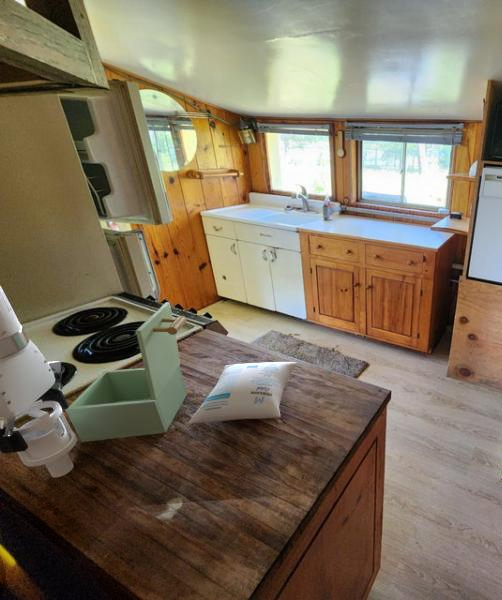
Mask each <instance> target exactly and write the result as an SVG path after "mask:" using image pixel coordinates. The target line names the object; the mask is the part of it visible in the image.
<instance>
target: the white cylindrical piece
mask: <svg viewBox="0 0 502 600" xmlns="http://www.w3.org/2000/svg"><path fill="white" fill-rule="evenodd" d="M47 407H52V408H53V410H54V411H52V412H51V413H49V411H44V410H42V409H46V408H47ZM26 414H27V415H28V416H29V417H32V418H35V419H32V420H30V421H28V422H26V423H24V424H23V425H22V426H20V427H18V428H17V427H15V426H14V430H13V431H19V432H20V434H21V435H22V437H23V438H24V440H25V442H26V443H27V445H28V448H27V449H26V450H25V451H22V452H16V454H17V455H18V457H19V458H20V461H21V462H22V464H23V465H24V466H26V467H39V466H43V465H44V466H45V467H46V469H47V471H48V472H49V474H50V477H52V478H55V479H56V478H61V477H63V476H65V475H67V474H68V473H70V472H71V471H72V470H73V469H74V462H73V461H72V460H71V458H70V456H69V454H68V453H69V452H70V451H71V450H72V449H73V448H74V447H75V446H76V444H77V442H78V437H77V436H76V433H75V432H74V431H73V429H72V428H71V425H70V424H69V422H68V419H67V418H66V416H65V414H64V411H63V410H62V408H61V406H60V404H59V403H58V402H56V401H43V402H42V401H38V402H34V403H33V404H31V405H30V406H29V407H28V408H27V409H26V410H24V411H23V412H22V413H21V414H19V415H18V416H16V418H15V421H16V420H17V419H19V418H21V417H22V416H25V415H26ZM3 423H4V420H1V423H0V429H3Z"/></svg>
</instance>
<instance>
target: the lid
mask: <svg viewBox="0 0 502 600" xmlns="http://www.w3.org/2000/svg"><path fill="white" fill-rule="evenodd" d="M187 320H188V319H187V317H186V316H184V315H179V316H177V317H173V311H172V307H171V302H170V301H165V302H164V303H163V304H162V305H161V307H159V308H158V309H157V310H156V311H155V312H154V313H153V314H152V315H151V316H150V317H148V319H146V321H144V322H143V323H142V324H141V325H140V326H139V327H138V328H137V329H136V330H135V333H136V337H137V342H138V346H139V350H140V355H141V359H142V364H143V368H145V373H146V377H147V381H148V386H149V390H150V395H151V399H152V400H156V399H157V398H158V396H159V395H160V393H161V392H162V390H163V389H164V387H165V386H166V384H167V383H168V381H169V380H170V378H171V377H172V376H173V374H174V373H175V371H176V370H177V368H178V367H180V365H181V363H182V362H181V357H180V352H179V347H178V341H177V336H176V334H178V332H179V331H180V330H181V329H182V328H183V326H184V325H185V324H186V322H187Z"/></svg>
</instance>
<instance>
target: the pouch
mask: <svg viewBox="0 0 502 600" xmlns="http://www.w3.org/2000/svg"><path fill="white" fill-rule="evenodd" d="M297 365H298V362H295V361H267V362H265V361H264V362H251V363H250V362H248V363H234V364H227V365H225V366H224V367H223V371H222V373H221V375H220V376H219V378H218V380H217V383H216V384H215V386H214V387H213V388H212V390H211V391H210V393H209V394H208V395H207V396H206V397H205V400H204V401H203V402H202V403H201V405H200V406H199V407H198V409H197V410H196V411H195V412H194V414H193V415H192V417H191V418H190V419H189V420H188V422H187V424H202V423H204V424H205V423H215V422H226V421H237V420H257V419H258V420H259V419H276V418H277V419H278V418H281V411H280V404H281V402H282V398H283V392H284V389H285V387H286V385H287V383H288V381H289V379H290V376H291V375H292V373H293V371H294V370H295V368H296V366H297Z"/></svg>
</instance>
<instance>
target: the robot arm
mask: <svg viewBox="0 0 502 600" xmlns="http://www.w3.org/2000/svg"><path fill="white" fill-rule="evenodd" d="M62 378H63V373H62V362H61V361H60V360H59V361H58V360H57V361H47V359H46V357H45V356H44V355H43V353H42V352H41V351H40V349H39V348H38V346H37V345H35V343H34V342H33V341H32V340H31V339H29V338H28V336H27V334H26V333H25V330H24V326H23V325H22V324H21V323H20V321H19V319H18V317H17V315H16V313H15V310H14V309H13V307H12V305H11V303H10V301H9V299H8V297H7V296H6V293H5V292H4V289H3V288H2V286H1V285H0V421H3V420H4V423H3V429H1V428H0V452H1V453H2V454H12V453H13V454H14V453H17V452H22V451H25V450H26V449H27V448H28V445H27V443H26V442H25V440H24V438H23V437H22V435H21V434H20V432H19V431H13V430H14V427H15V423H16V420H15V418H16V416H18V415H19V414H21V413H22V412H23V411H24V410H26V409H27V408H28V407H29V406H30V405H31V404H34V403H36V401H37V400H39V399H40V400H41V402H43V401H56V402H58V403H59V404H60V406H61V408H62V411H66V409H67V408H68V407H69V406H70V404H69V403H68V400H67V399H66V397H65V395H64V393H63V391H62V390H63V389H64V385H63V384H62V383H61V382H62ZM45 409H46V412H54V410H53V408H52V407H47V408H45Z"/></svg>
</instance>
